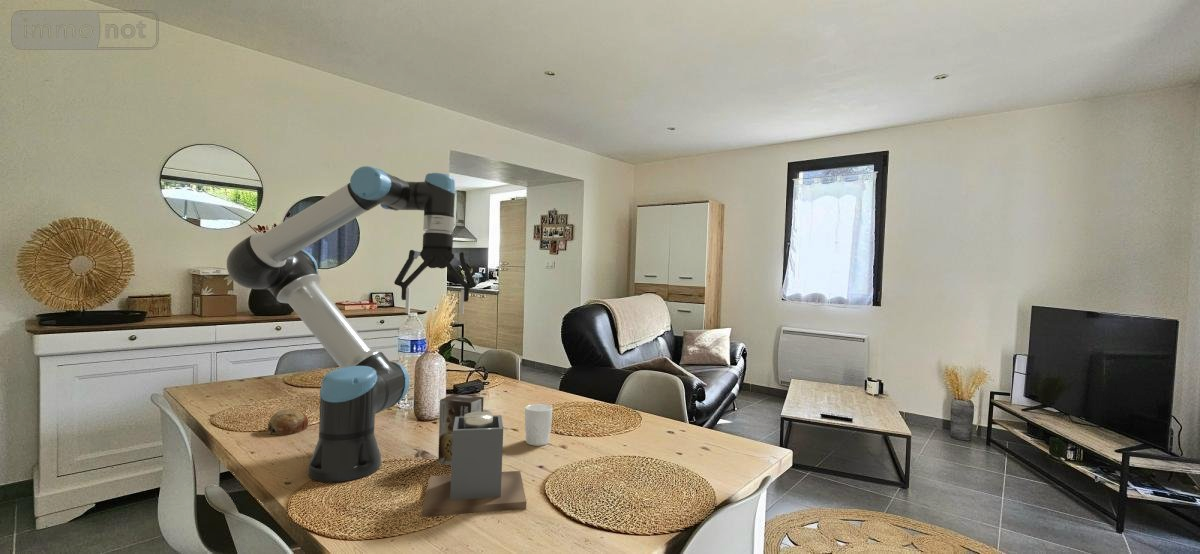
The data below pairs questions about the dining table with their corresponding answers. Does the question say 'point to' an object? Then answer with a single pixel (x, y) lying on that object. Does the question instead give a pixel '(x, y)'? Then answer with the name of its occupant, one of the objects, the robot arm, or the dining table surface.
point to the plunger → (478, 420)
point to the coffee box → (448, 412)
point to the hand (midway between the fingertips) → (435, 313)
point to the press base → (441, 505)
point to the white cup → (538, 424)
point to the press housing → (476, 461)
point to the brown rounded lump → (287, 422)
